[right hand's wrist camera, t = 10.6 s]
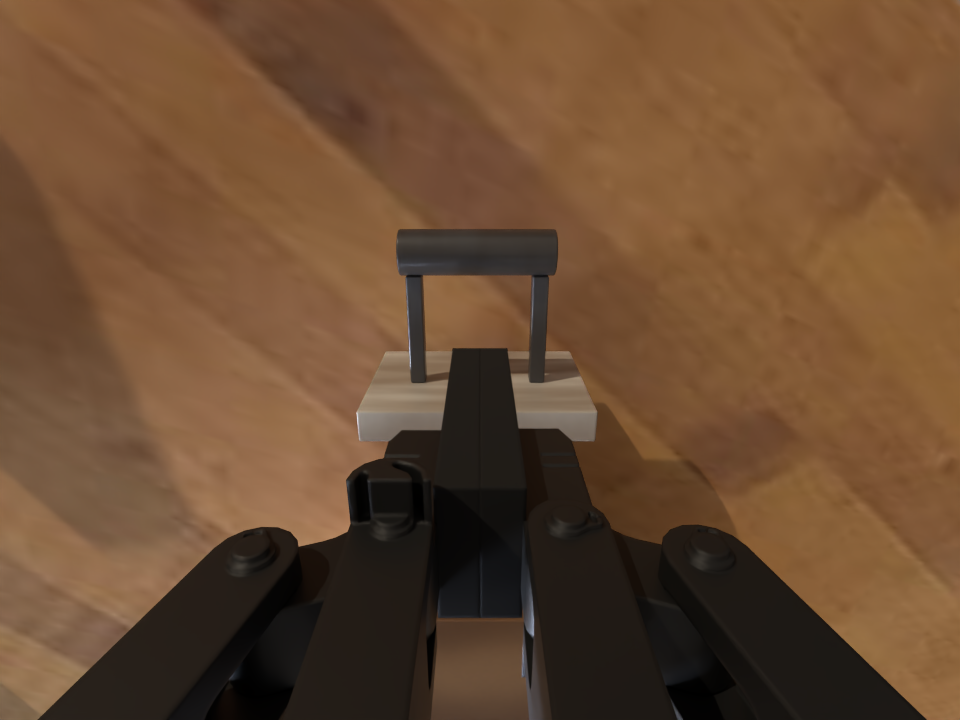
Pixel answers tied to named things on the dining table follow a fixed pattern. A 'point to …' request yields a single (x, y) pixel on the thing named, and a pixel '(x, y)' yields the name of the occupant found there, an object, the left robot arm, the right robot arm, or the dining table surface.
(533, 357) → the drawer
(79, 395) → the dining table surface
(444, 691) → the cabinet
